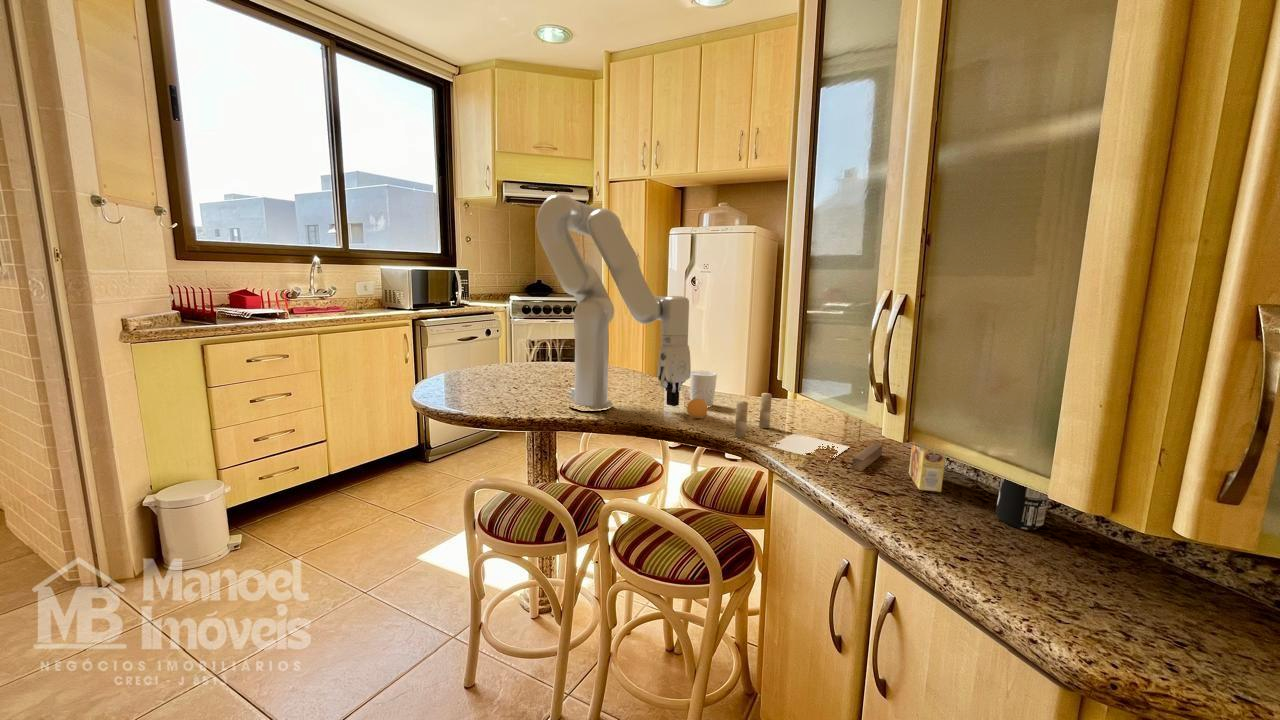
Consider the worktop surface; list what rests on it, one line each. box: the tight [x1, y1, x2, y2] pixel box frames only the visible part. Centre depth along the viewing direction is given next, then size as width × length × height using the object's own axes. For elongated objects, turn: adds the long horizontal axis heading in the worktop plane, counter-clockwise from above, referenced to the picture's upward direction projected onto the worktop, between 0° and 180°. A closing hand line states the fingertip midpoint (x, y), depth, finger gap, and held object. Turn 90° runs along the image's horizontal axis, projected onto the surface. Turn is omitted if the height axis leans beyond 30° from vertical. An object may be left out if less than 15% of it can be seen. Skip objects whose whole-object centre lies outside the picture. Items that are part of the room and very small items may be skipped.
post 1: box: [734, 400, 749, 440], centre depth 126 cm, size 3×3×9 cm
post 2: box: [758, 392, 773, 429], centre depth 136 cm, size 3×3×9 cm
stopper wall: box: [851, 442, 884, 472], centre depth 114 cm, size 2×14×2 cm, turn 140°
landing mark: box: [769, 432, 851, 463], centre depth 122 cm, size 14×14×1 cm
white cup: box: [689, 370, 718, 406], centre depth 156 cm, size 8×8×10 cm
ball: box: [686, 398, 708, 419], centre depth 142 cm, size 6×6×6 cm
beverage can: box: [995, 477, 1049, 531], centre depth 87 cm, size 7×7×12 cm
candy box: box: [908, 444, 947, 493], centre depth 102 cm, size 9×4×15 cm, turn 166°
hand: (672, 404), depth 148 cm, fingers closed
